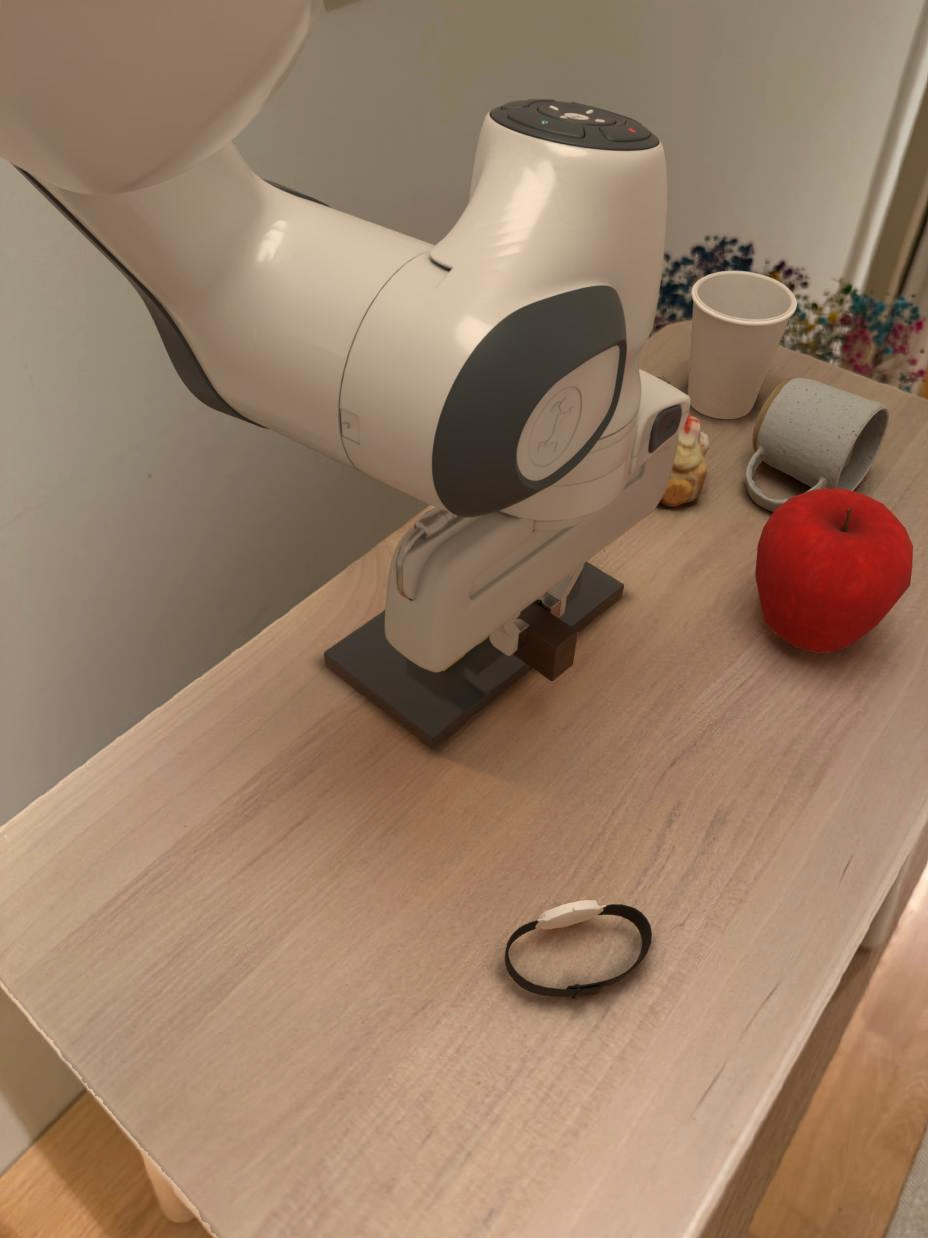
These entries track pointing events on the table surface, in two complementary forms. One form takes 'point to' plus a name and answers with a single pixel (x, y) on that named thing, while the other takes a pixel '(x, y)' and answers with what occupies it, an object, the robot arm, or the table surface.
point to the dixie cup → (734, 339)
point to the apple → (831, 568)
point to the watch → (570, 916)
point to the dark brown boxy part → (547, 642)
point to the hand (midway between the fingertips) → (527, 629)
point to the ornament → (687, 463)
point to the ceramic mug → (816, 437)
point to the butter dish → (464, 687)
